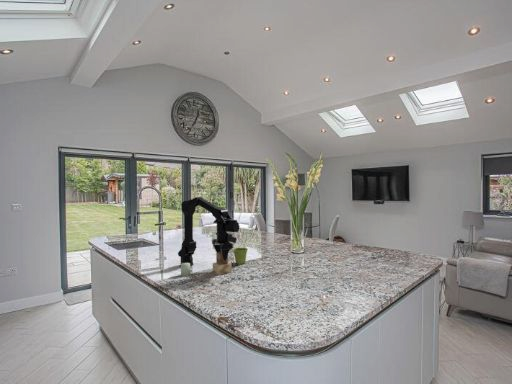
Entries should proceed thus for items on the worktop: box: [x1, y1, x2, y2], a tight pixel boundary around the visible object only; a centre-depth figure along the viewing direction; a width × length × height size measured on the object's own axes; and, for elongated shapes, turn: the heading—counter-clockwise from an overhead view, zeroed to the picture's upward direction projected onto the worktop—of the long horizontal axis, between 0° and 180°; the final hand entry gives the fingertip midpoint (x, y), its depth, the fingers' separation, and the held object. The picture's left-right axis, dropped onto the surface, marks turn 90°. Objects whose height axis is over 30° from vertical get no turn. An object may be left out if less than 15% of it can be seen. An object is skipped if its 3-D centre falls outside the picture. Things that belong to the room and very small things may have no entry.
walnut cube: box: [215, 251, 229, 265], centre depth 166 cm, size 5×5×6 cm
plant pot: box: [232, 247, 249, 265], centre depth 184 cm, size 9×9×9 cm
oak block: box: [212, 261, 233, 276], centre depth 166 cm, size 8×8×5 cm
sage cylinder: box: [180, 263, 191, 277], centre depth 161 cm, size 5×5×6 cm
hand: (222, 258), depth 166 cm, fingers open, 9 cm apart
